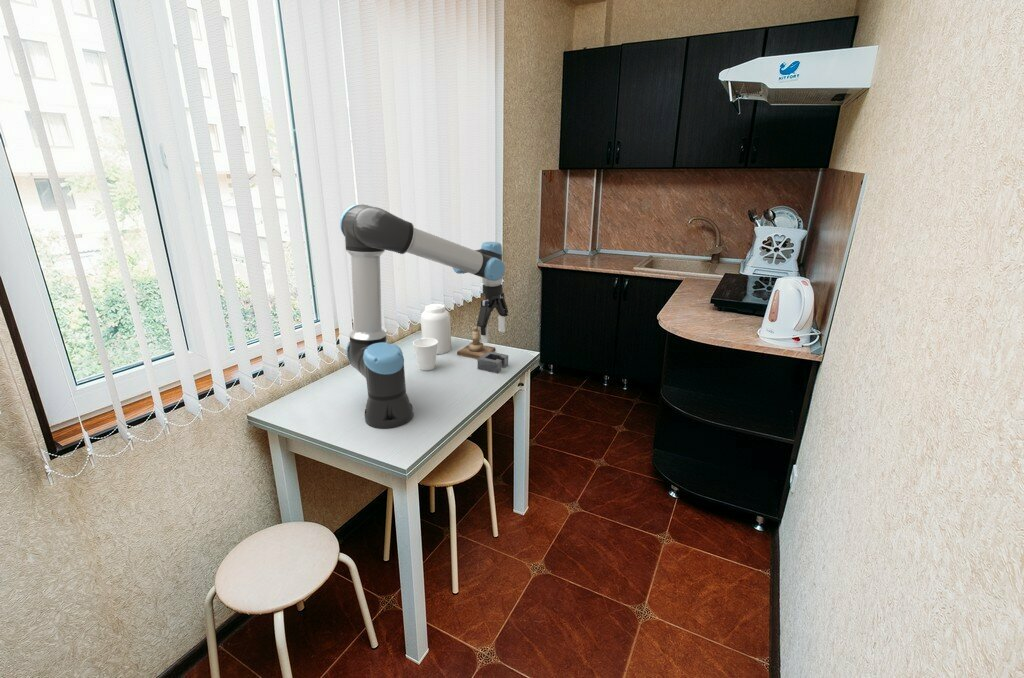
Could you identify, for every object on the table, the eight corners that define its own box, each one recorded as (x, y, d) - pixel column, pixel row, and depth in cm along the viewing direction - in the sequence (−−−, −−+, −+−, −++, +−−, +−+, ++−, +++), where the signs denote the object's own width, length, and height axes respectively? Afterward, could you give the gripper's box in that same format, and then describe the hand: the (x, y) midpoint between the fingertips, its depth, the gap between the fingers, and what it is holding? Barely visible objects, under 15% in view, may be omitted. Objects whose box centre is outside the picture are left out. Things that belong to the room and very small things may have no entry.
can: (456, 346, 211) (454, 303, 204) (444, 356, 200) (441, 311, 193) (430, 343, 215) (428, 300, 208) (417, 353, 204) (414, 308, 197)
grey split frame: (508, 365, 192) (508, 355, 190) (497, 373, 184) (497, 362, 183) (489, 361, 196) (488, 351, 194) (477, 369, 188) (477, 358, 186)
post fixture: (481, 360, 197) (480, 332, 192) (456, 354, 202) (456, 328, 198) (495, 350, 207) (495, 324, 202) (471, 345, 212) (471, 320, 208)
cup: (437, 373, 184) (435, 346, 180) (411, 372, 184) (409, 346, 181) (441, 363, 193) (440, 337, 190) (417, 362, 194) (415, 337, 190)
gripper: (484, 292, 166) (485, 349, 174) (516, 278, 187) (516, 328, 194) (466, 290, 169) (468, 345, 177) (499, 276, 190) (500, 326, 197)
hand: (493, 336), depth 186 cm, fingers open, 13 cm apart
